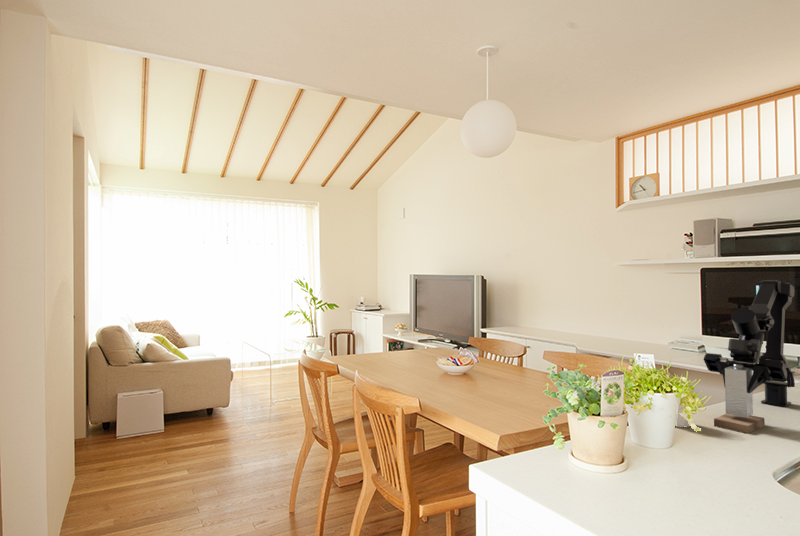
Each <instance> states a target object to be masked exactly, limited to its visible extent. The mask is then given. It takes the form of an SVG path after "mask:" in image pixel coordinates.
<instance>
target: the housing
mask: <svg viewBox="0 0 800 536" xmlns="http://www.w3.org/2000/svg"><path fill="white" fill-rule="evenodd" d="M752 375H753V371H752V368H744V365H741V364H733V366H730V367H727V368H725V386H724V390H725V391H724V392H725V393H724V394H725V395H724V397H725V399H724V400H725V414H731V415H736V416H742V417H749V416H751V415H752V416H753V414H754V403H753V401H754V399H753V397H754V396H753V395H754V394H753V392H754V391H752V392H751V393H748V386H749V383H750V380H751V378H752Z"/></svg>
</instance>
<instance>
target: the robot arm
mask: <svg viewBox="0 0 800 536" xmlns="http://www.w3.org/2000/svg"><path fill="white" fill-rule="evenodd" d="M794 297H795V286H794V285H792V284H791V283H789V282H781V280H776V279H770V280H769V279H768V280H765V279H763V280H761V281H759V284H758V291H757V292H756V296H755V297H754V299H753V302H752V304H751V305H749V306H743V305H742V306H741V308H739V309H736V310H735V311H733V312H731V314H730V319H731V321H732V324H733V326H734V329H735V332H736V334H738V335H739V336H738V338H729V340H728V347H727V351H730V353H729V356H730V358H732V359H728V358H727V357H723V356H722V354H721V353H711V352H708V353H705V354H704V356H703V362H704V363H705V365H706V368H707V370H708V371H710V372H712V373H713V372H714V373H719V374H720V375H721V376H722V380H723V386H724V387H725V368H727V367H730V366H733V364H741V365H744V368H752V378H751V380H750V383H749V386H748V393H751V392H752V391H753V392H754V391H755V390H756V389H758V387H759V386H761V385H764V399H763V400H761V401H760V403H761V404H766V405H773V406H777V407H778V406H779V407H785V408H786V407H787V406H790V405H792V402H791V401H788V388H795V387H796V386H795V385H796V383H795V382H796V381H795V377H794V373H793V371H792V369H791V368H790V362H789V361H788V359H787V358H786V357H785V355H784V343H785V322H786V321H785V319H786V318H785V317H786V310H787V309H788V308H789V307H790V306H791V305H792V302H793V298H794ZM763 332H766V343H765V352H764V353H763V355H761V350H762V348H763V344H764V339H765V334H764V333H763Z"/></svg>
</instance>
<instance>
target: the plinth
mask: <svg viewBox="0 0 800 536" xmlns="http://www.w3.org/2000/svg"><path fill="white" fill-rule="evenodd" d="M765 423H766V422H765V417H762V416H756V415H753V414H752V415H751V416H749V417H742V416H736V415H731V414H726V413H724V414H722V415H720V416H717V417H715V418H713V427H716V426H717V427H716V428H720V427H721V429H726V430H729V429H730V430H731V431H735V432H738V433H739V432H740V433H742V434H743V433H744V434H750V433H752V432H754V431H756V430H758V429H760V428H762V427H764V426H765V425H766V424H765Z"/></svg>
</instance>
